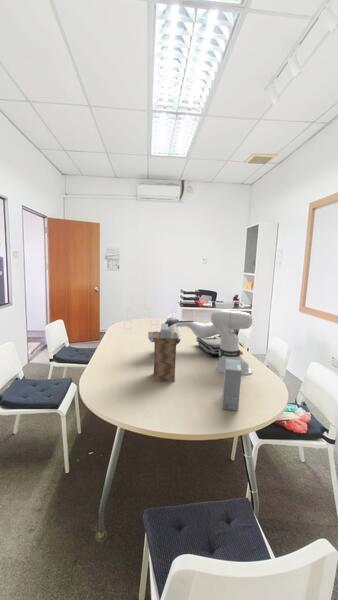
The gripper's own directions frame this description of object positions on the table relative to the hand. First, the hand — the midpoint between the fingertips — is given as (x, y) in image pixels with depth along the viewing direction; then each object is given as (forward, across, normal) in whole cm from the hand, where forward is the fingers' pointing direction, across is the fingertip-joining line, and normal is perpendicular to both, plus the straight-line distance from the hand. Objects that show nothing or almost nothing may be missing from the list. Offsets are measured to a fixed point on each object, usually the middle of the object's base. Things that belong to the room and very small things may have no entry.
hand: (163, 332), depth 186 cm
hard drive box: (+34, -32, -44) cm, 64 cm away
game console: (-36, -43, -4) cm, 57 cm away
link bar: (+18, 0, -5) cm, 19 cm away
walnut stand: (+9, 0, -30) cm, 31 cm away
